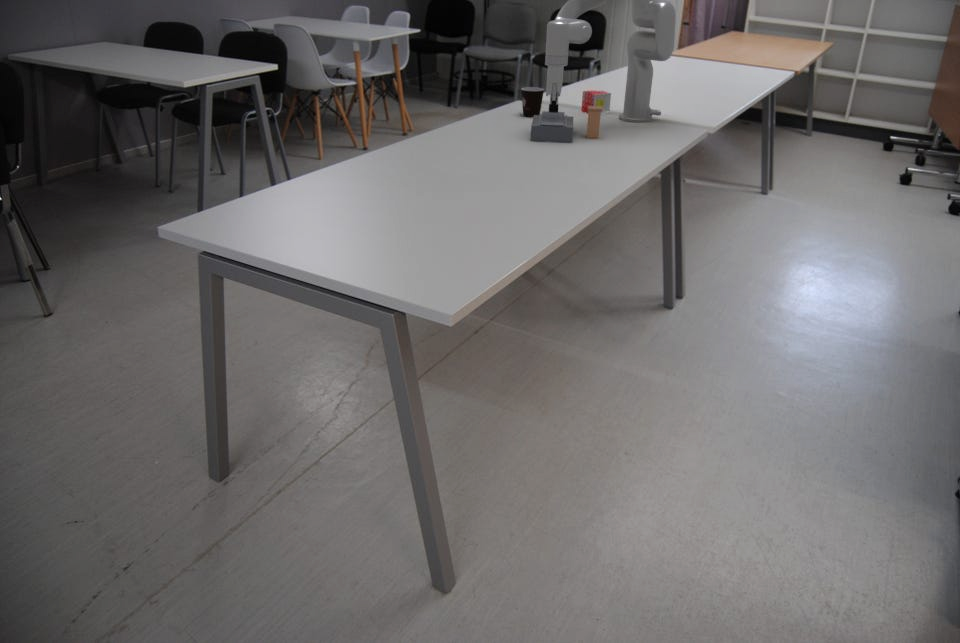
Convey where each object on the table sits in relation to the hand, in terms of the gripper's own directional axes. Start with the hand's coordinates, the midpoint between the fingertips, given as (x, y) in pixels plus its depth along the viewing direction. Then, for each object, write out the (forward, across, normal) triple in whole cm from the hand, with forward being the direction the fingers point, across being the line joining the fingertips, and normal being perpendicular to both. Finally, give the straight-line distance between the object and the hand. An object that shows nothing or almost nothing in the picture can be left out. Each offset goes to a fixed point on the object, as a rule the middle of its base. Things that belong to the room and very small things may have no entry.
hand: (553, 116), depth 256 cm
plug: (+6, 0, +14) cm, 15 cm away
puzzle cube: (+7, -43, +16) cm, 46 cm away
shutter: (+1, +6, 0) cm, 6 cm away
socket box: (+6, +1, 0) cm, 7 cm away
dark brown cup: (+7, -33, -9) cm, 35 cm away
